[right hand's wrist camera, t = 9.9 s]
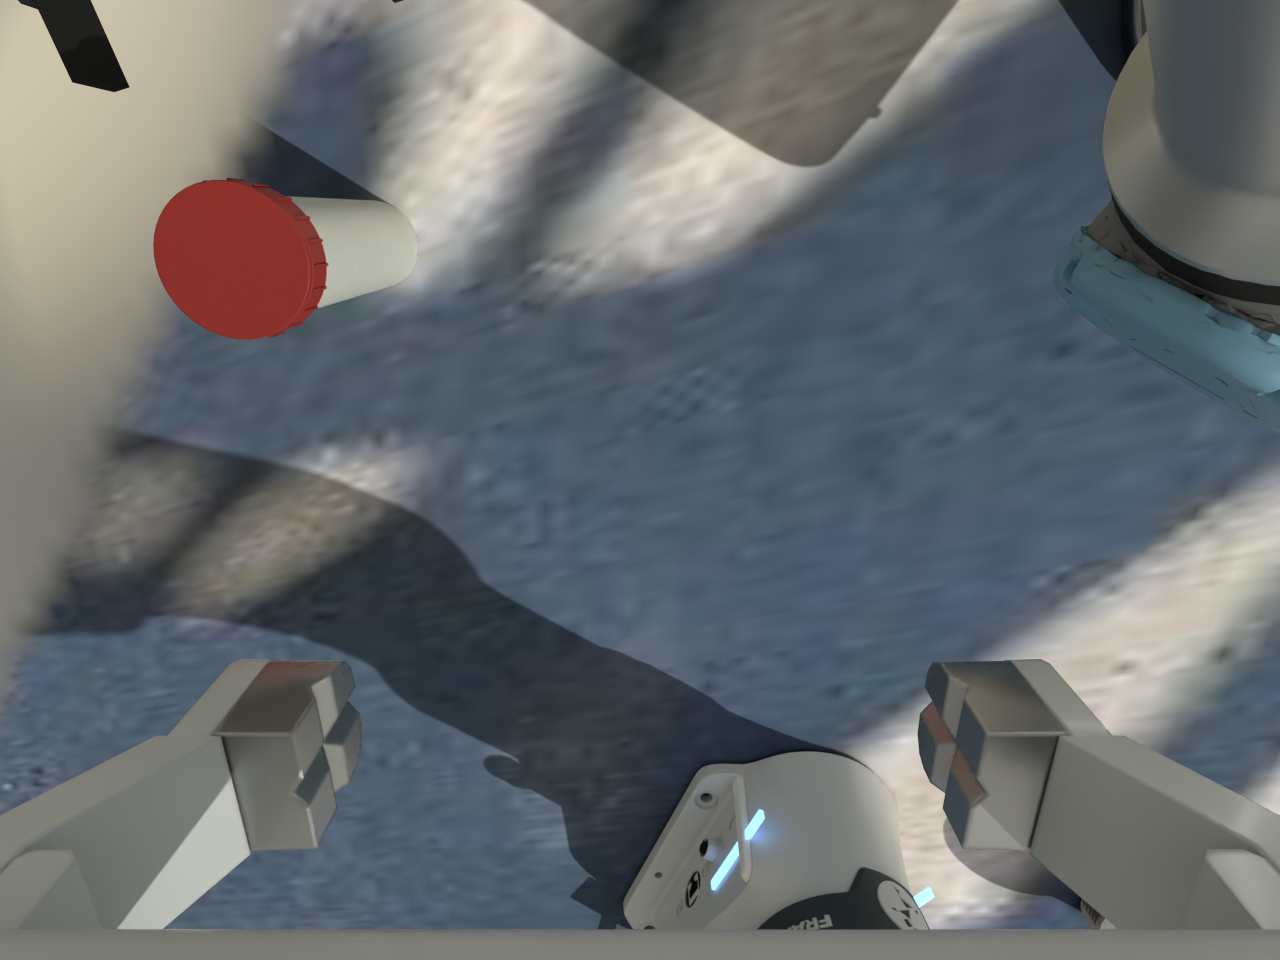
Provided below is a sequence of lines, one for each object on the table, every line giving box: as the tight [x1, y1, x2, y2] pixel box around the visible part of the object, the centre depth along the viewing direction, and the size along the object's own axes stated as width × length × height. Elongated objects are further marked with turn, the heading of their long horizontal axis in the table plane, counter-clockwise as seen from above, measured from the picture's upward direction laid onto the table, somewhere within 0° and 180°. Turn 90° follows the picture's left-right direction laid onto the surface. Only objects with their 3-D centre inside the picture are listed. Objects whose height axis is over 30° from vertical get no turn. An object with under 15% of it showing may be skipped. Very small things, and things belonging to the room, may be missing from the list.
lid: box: [154, 178, 329, 340], centre depth 27 cm, size 6×6×2 cm
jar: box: [286, 196, 418, 308], centre depth 34 cm, size 5×5×15 cm
